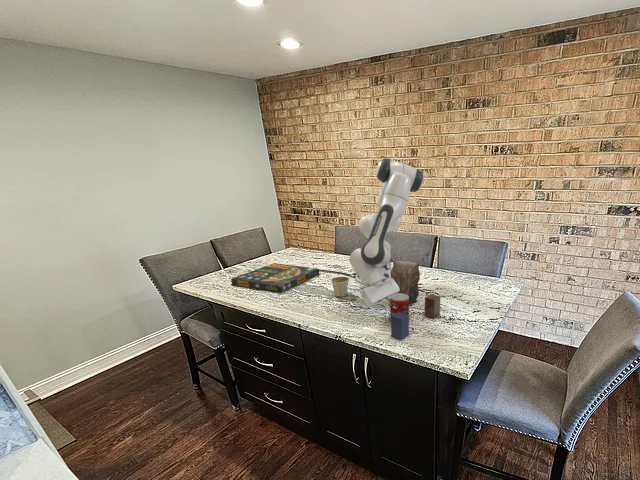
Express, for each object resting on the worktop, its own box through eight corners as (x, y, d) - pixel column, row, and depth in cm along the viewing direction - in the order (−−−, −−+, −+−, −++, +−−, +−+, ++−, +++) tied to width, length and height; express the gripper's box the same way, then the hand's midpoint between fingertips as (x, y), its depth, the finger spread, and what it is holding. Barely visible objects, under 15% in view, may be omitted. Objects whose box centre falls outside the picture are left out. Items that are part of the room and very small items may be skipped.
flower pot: (353, 292, 179) (352, 277, 175) (345, 299, 170) (343, 283, 167) (337, 291, 181) (336, 275, 178) (328, 297, 173) (327, 281, 170)
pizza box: (232, 284, 192) (230, 278, 191) (274, 268, 222) (273, 263, 221) (281, 292, 180) (280, 286, 178) (319, 274, 210) (318, 268, 208)
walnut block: (424, 316, 151) (424, 297, 147) (430, 312, 155) (430, 294, 151) (433, 318, 148) (434, 299, 145) (439, 315, 152) (440, 296, 148)
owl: (387, 299, 170) (387, 261, 162) (408, 294, 176) (409, 257, 168) (401, 307, 160) (401, 267, 152) (422, 302, 166) (423, 263, 158)
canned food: (389, 316, 151) (389, 293, 146) (407, 315, 151) (407, 292, 147) (391, 323, 144) (391, 300, 139) (409, 322, 144) (410, 299, 140)
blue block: (391, 336, 133) (390, 315, 130) (398, 331, 137) (398, 311, 133) (401, 340, 130) (401, 319, 127) (408, 335, 134) (409, 314, 131)
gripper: (360, 284, 140) (379, 311, 138) (391, 272, 155) (408, 296, 153) (353, 291, 144) (371, 318, 143) (384, 279, 159) (400, 303, 158)
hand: (391, 307), depth 148 cm, fingers closed, pressing on canned food
